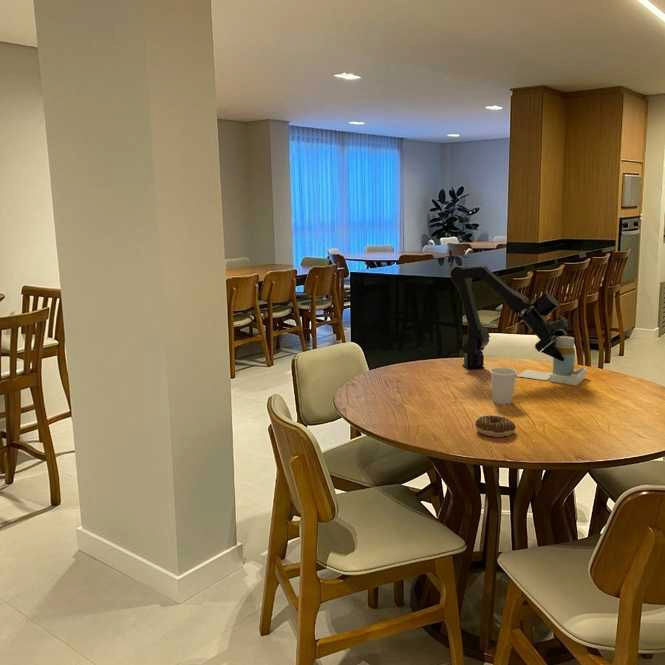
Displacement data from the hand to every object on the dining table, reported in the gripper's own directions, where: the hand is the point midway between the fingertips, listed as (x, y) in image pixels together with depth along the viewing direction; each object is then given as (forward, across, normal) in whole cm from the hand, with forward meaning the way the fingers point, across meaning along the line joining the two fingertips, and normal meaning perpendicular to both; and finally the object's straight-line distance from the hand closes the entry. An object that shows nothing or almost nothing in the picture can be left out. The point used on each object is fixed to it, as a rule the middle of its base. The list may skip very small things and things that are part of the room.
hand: (567, 358), depth 231 cm
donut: (+6, -66, +6) cm, 67 cm away
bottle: (+5, 0, +7) cm, 8 cm away
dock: (+6, 0, +5) cm, 8 cm away
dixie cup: (0, -38, +12) cm, 40 cm away
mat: (-2, 0, +13) cm, 13 cm away
